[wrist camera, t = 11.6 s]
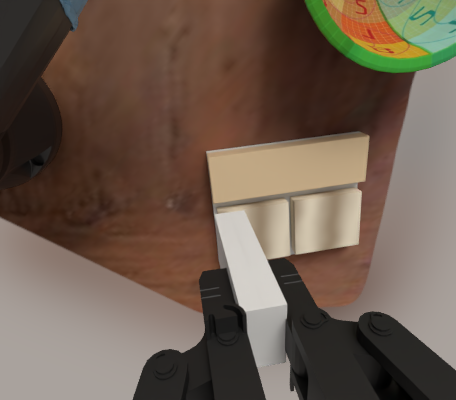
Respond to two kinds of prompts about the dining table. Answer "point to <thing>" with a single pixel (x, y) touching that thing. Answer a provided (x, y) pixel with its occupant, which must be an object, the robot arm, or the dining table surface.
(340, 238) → the beige square panel
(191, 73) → the dining table surface
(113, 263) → the dining table surface
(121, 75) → the dining table surface
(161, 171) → the dining table surface
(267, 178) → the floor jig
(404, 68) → the bowl
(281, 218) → the cream flat block
